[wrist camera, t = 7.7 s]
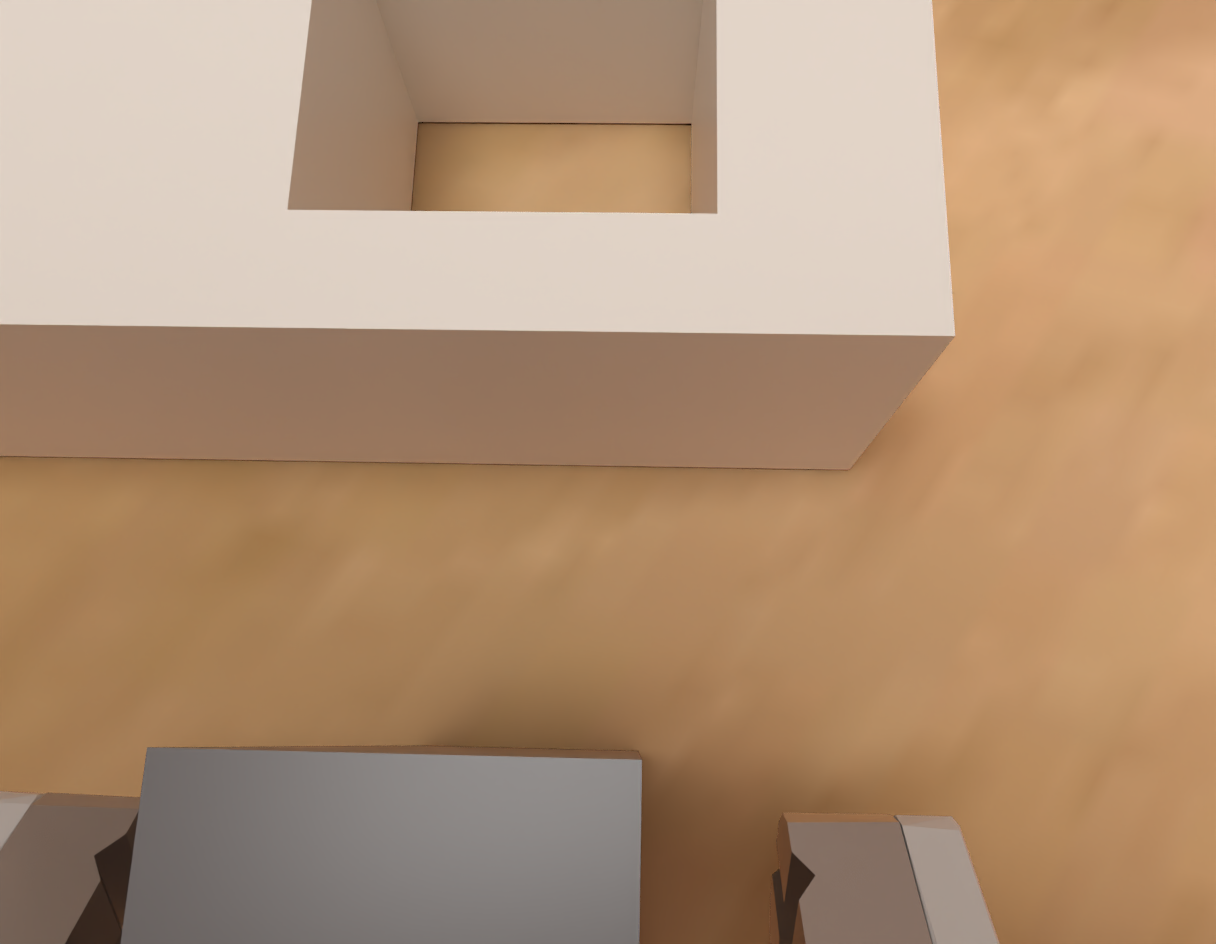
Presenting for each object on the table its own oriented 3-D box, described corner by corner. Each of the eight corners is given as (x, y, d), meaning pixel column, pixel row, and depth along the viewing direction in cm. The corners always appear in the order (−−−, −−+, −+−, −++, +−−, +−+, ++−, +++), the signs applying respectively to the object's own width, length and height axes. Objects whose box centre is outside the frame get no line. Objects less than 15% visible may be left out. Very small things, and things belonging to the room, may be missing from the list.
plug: (402, 985, 13) (66, 1333, 5) (418, 745, 14) (146, 747, 6) (633, 993, 13) (632, 1357, 5) (637, 750, 14) (641, 759, 6)
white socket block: (-422, 448, 15) (-911, 312, 10) (-296, 24, 17) (-660, -257, 12) (849, 469, 15) (955, 336, 10) (832, 27, 17) (913, -265, 12)
